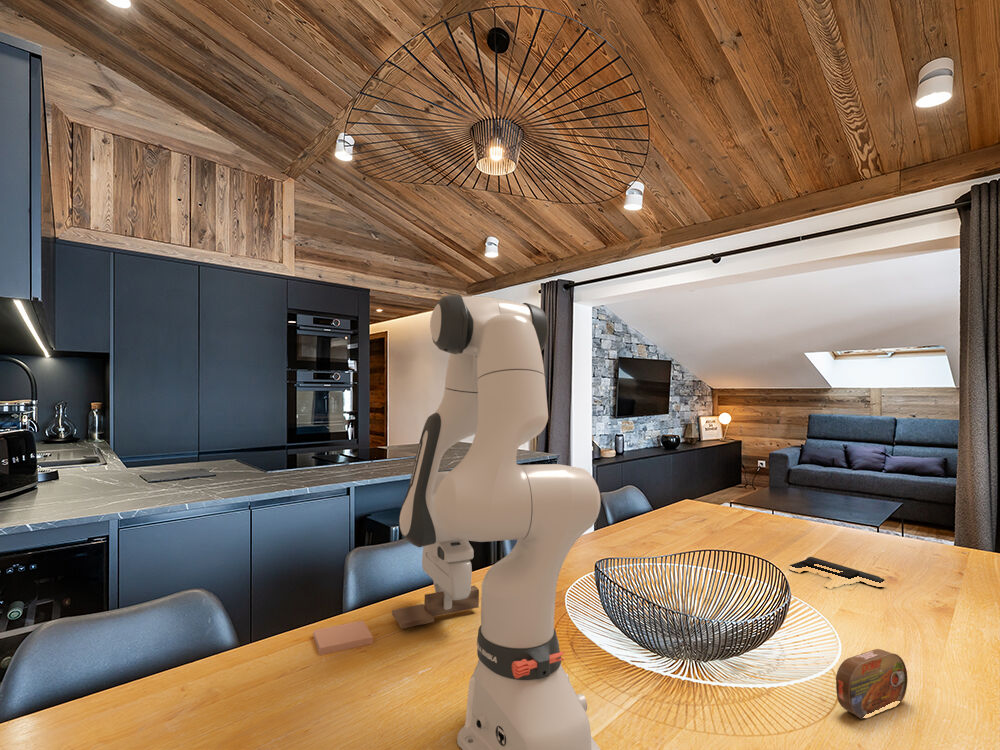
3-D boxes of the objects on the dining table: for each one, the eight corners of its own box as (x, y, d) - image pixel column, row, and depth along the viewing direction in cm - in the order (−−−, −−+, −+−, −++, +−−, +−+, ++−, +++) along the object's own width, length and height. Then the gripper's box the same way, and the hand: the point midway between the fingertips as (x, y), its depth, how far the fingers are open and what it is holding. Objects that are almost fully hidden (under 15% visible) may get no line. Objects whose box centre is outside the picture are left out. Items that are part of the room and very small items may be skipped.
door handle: (854, 590, 127) (887, 575, 135) (778, 565, 145) (811, 553, 152) (855, 603, 127) (888, 588, 135) (778, 576, 145) (811, 564, 152)
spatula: (469, 599, 119) (470, 582, 119) (482, 611, 112) (483, 593, 112) (392, 614, 110) (392, 595, 110) (401, 628, 104) (402, 608, 104)
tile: (373, 636, 100) (320, 648, 95) (372, 645, 100) (319, 657, 95) (363, 620, 107) (313, 630, 102) (362, 628, 107) (313, 638, 102)
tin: (851, 725, 78) (851, 669, 78) (831, 713, 81) (831, 659, 81) (910, 702, 84) (909, 651, 84) (889, 692, 87) (888, 642, 87)
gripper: (416, 530, 120) (414, 589, 119) (449, 557, 102) (447, 627, 101) (441, 527, 123) (439, 585, 122) (477, 553, 105) (476, 620, 104)
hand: (443, 604), depth 112 cm, fingers closed on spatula, 2 cm apart
